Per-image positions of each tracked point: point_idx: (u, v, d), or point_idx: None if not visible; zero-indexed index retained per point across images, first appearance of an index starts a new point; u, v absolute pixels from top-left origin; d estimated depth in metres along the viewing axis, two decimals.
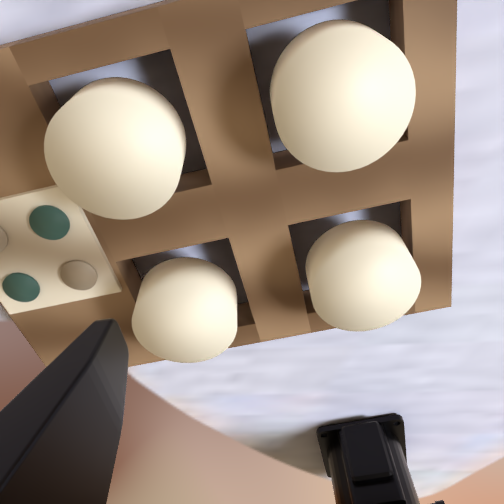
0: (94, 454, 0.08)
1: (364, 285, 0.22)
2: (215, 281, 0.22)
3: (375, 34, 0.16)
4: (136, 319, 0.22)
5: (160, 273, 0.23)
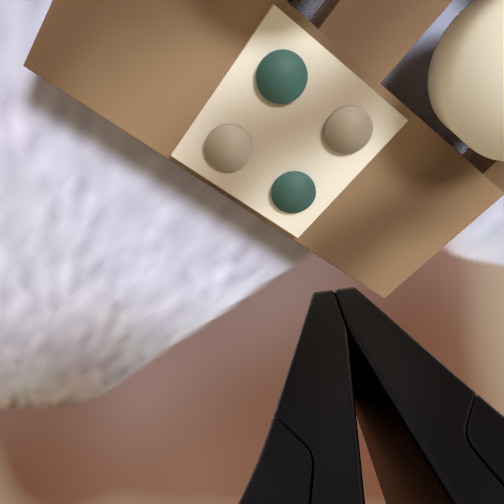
0: None
1: None
2: None
3: None
4: (461, 118, 0.15)
5: (454, 39, 0.15)
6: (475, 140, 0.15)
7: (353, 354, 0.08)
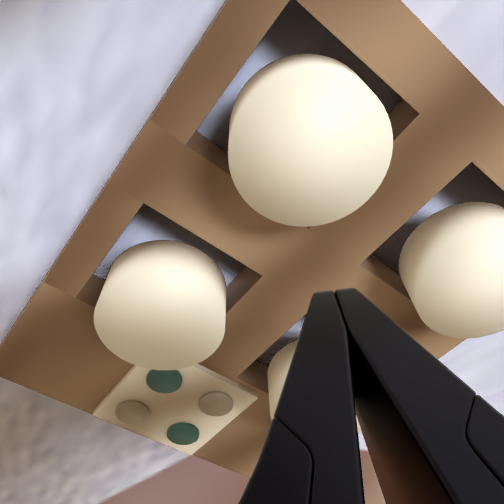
0: None
1: (476, 285, 0.18)
2: None
3: (283, 77, 0.13)
4: None
5: (274, 373, 0.22)
6: None
7: (353, 354, 0.08)
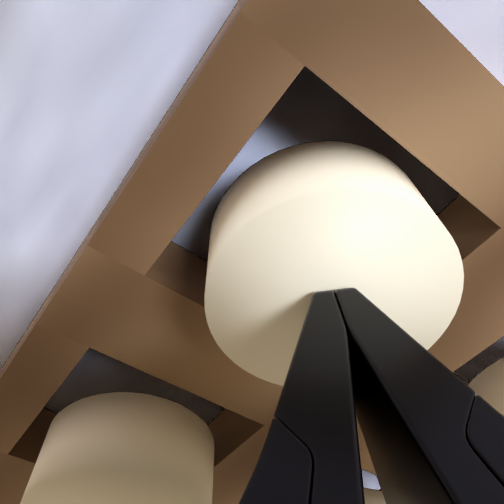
0: None
1: None
2: None
3: (290, 202, 0.08)
4: None
5: None
6: None
7: (353, 354, 0.08)
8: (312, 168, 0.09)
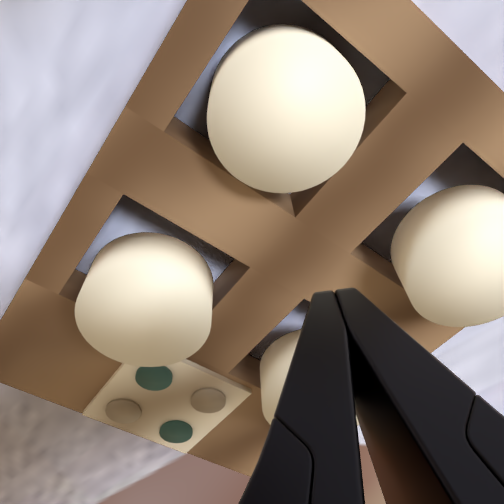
0: None
1: (470, 271, 0.17)
2: None
3: (256, 44, 0.14)
4: None
5: (265, 367, 0.21)
6: None
7: (353, 354, 0.08)
8: (271, 32, 0.14)
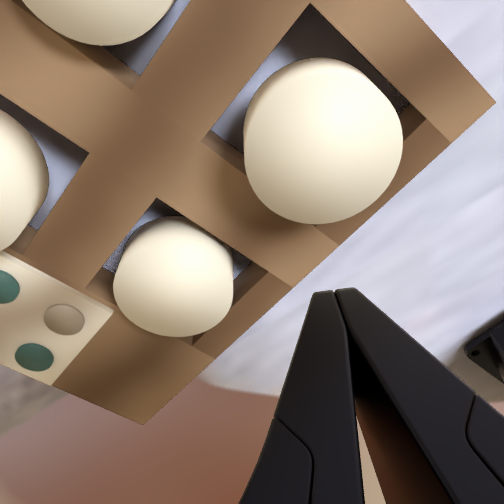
0: None
1: (313, 149, 0.15)
2: (170, 231, 0.19)
3: None
4: (127, 311, 0.21)
5: (122, 255, 0.20)
6: (143, 324, 0.21)
7: (353, 354, 0.08)
8: None
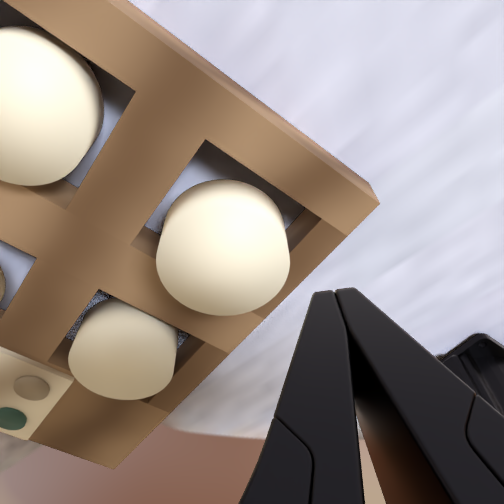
0: None
1: (214, 261, 0.18)
2: (115, 314, 0.22)
3: None
4: (83, 381, 0.24)
5: (77, 333, 0.23)
6: (98, 391, 0.24)
7: (353, 354, 0.08)
8: None
